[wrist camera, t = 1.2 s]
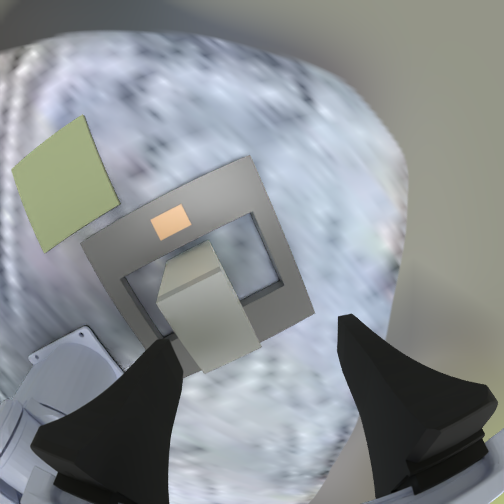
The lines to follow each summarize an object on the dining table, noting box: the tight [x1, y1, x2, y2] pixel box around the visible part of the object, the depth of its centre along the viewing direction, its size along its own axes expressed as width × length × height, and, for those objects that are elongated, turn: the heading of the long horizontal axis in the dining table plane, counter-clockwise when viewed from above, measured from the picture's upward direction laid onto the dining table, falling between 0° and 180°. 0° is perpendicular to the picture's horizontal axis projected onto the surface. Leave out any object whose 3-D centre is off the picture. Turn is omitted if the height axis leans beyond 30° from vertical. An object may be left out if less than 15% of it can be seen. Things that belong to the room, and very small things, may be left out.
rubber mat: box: [11, 115, 120, 253], centre depth 16 cm, size 8×8×1 cm
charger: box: [156, 240, 262, 374], centre depth 17 cm, size 4×5×8 cm
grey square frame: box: [80, 155, 315, 378], centre depth 20 cm, size 14×14×2 cm
